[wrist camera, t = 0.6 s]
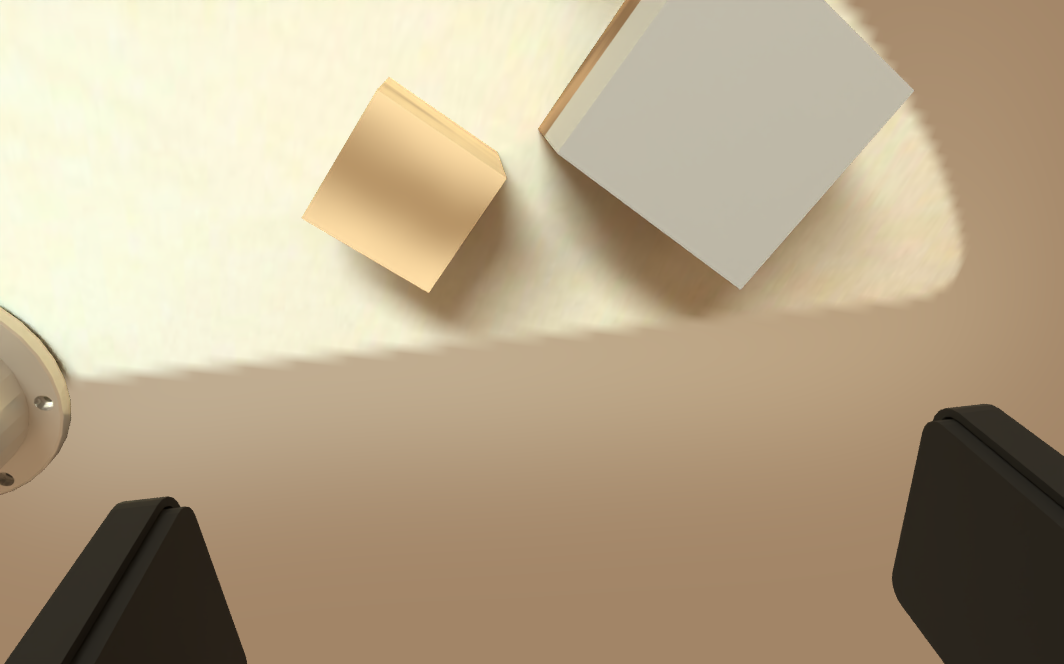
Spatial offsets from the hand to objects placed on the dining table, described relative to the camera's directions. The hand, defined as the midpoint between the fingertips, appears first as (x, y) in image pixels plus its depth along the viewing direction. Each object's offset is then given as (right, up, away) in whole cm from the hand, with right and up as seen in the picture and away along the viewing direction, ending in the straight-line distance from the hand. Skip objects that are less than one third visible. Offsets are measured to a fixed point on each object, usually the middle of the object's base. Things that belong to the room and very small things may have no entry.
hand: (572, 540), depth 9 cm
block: (-6, +11, +24) cm, 27 cm away
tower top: (+7, +12, +21) cm, 25 cm away
